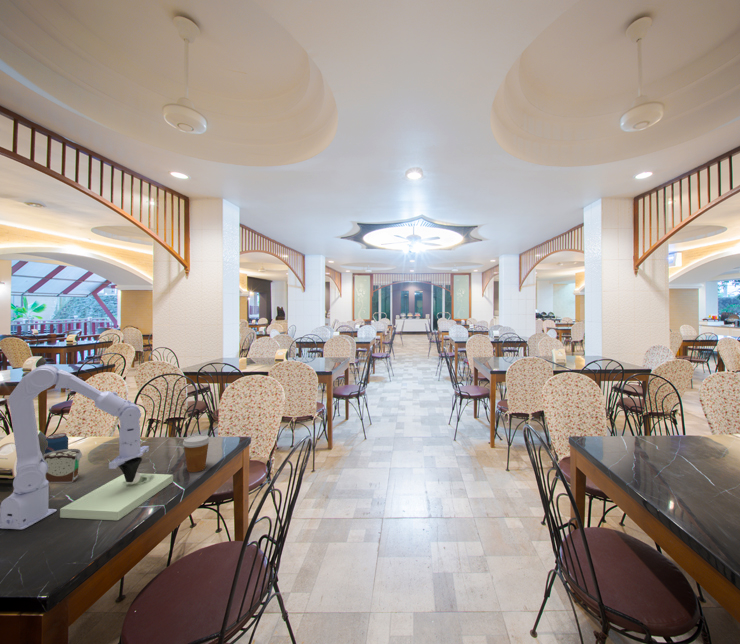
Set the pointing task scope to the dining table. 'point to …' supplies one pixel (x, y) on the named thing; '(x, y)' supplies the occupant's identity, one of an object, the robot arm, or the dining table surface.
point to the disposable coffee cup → (196, 452)
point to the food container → (62, 465)
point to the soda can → (56, 442)
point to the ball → (135, 479)
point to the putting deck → (116, 498)
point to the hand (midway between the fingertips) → (130, 481)
